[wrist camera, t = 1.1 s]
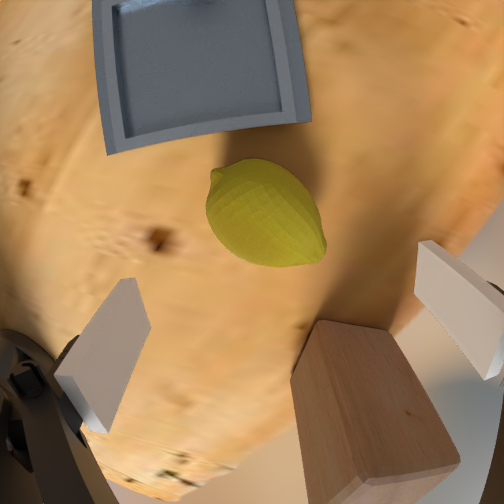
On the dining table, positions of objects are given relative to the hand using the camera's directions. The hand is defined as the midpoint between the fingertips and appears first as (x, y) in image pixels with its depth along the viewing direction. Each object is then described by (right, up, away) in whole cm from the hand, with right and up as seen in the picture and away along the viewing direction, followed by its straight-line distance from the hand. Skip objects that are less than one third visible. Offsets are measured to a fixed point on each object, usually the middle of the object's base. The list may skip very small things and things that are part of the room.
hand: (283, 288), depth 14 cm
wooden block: (+9, -11, +22) cm, 26 cm away
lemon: (0, +6, +15) cm, 16 cm away
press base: (-7, +23, +8) cm, 25 cm away
